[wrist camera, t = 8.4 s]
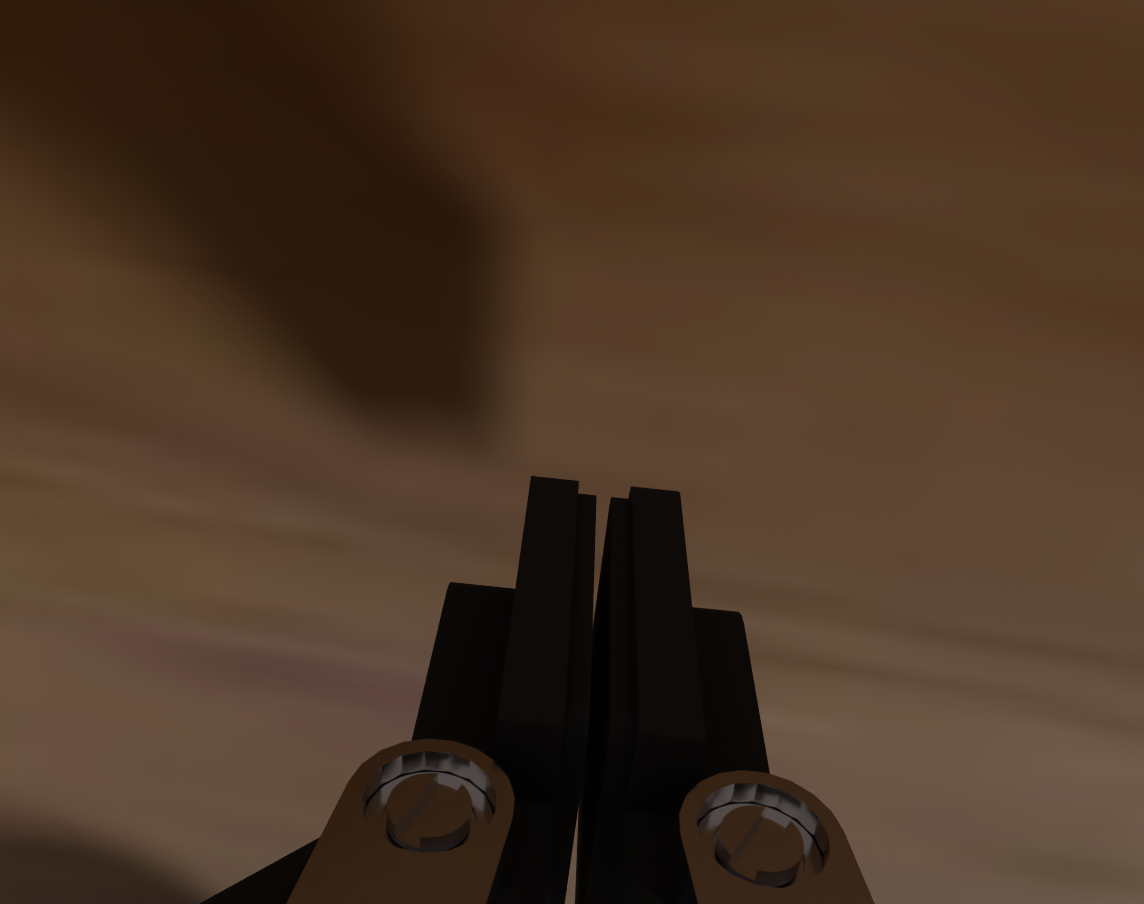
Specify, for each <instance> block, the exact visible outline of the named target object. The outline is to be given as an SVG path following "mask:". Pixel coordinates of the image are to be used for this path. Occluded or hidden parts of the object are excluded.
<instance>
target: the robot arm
mask: <svg viewBox="0 0 1144 904" xmlns="http://www.w3.org/2000/svg"><path fill="white" fill-rule="evenodd" d="M578 486H579V481H574V480H565V479H555V478H546V477H536V476H531V481H530V488H529V495H528V502H527V509H526V517H525V524H524V531H523V538H522V545H521V552H520V559H519V567H518V574H517V581H516V588H515V589H512V588H503V587H493V586H483V585H474V584H464V583H454V582H450V584H449V586H448V589H447V593H446V597H445V601H444V605H443V609H442V614H441V618H440V622H439V626H438V631H437V635H436V639H435V643H434V648H433V652H432V656H431V660H430V665H429V669H428V673H427V677H426V682H425V686H424V690H423V694H422V699H421V703H420V707H419V711H418V716H417V720H416V724H415V728H414V733H413V737H412V741H406V742H402V743H399V744H397V745H394V746H391V747H389V748H386V749H383V750H381V751H379V752H378V753H376V754H375V755H374V756H372V757H371V758H369V759H368V760H366V761H365V762H364V763H362V764H361V766H360V767H359V768H358V769H357V771H356V772H355V773H354V775H353V776H352V777H351V779H350V780H349V781H348V783H347V785H346V787H345V789H344V791H343V793H342V795H341V797H340V799H339V801H338V803H337V805H336V807H335V809H334V811H333V813H332V815H331V817H330V819H329V821H328V823H327V825H326V827H325V829H324V831H323V833H322V835H321V837H319V838H318V839H316V840H314V841H312V842H310V843H309V844H307V845H305V846H303V847H301V848H300V849H298V850H296V851H294V852H292V853H290V854H289V855H287V856H285V857H283V858H281V859H280V860H278V861H276V862H274V863H272V864H271V865H269V866H267V867H265V868H263V869H261V870H260V871H258V872H256V873H254V874H252V875H251V876H249V877H247V878H245V879H243V880H242V881H240V882H238V883H236V884H234V885H232V886H231V887H229V888H227V889H225V890H223V891H222V892H220V893H218V894H216V895H214V896H212V897H211V898H209V899H207V900H205V901H203V902H202V903H200V904H565V897H566V890H567V883H568V876H569V869H570V862H571V855H572V848H573V841H574V834H575V827H576V820H577V813H578V806H579V813H578V839H577V864H576V890H575V904H874V902H873V899H872V897H871V894H870V892H869V890H868V887H867V885H866V883H865V880H864V878H863V876H862V873H861V871H860V868H859V866H858V864H857V861H856V859H855V857H854V854H853V852H852V849H851V847H850V845H849V842H848V840H847V838H846V835H845V833H844V831H843V829H842V827H841V826H840V824H839V823H838V821H837V819H836V818H835V816H834V815H833V813H832V811H831V810H830V809H829V808H828V807H826V806H825V805H824V804H823V803H822V802H821V801H820V800H819V799H818V798H817V797H816V796H815V795H814V794H812V793H811V792H809V791H807V790H805V789H804V788H802V787H800V786H799V785H797V784H795V783H794V782H792V781H790V780H787V779H784V778H781V777H777V776H774V775H771V774H770V772H769V766H768V760H767V755H766V749H765V743H764V737H763V731H762V726H761V720H760V714H759V708H758V702H757V697H756V691H755V685H754V679H753V673H752V668H751V662H750V656H749V650H748V644H747V639H746V633H745V627H744V622H743V619H742V615H741V614H740V613H739V612H734V611H724V610H715V609H705V608H695V607H692V601H691V592H690V582H689V573H688V563H687V554H686V544H685V535H684V525H683V516H682V506H681V497H680V492H678V491H669V490H660V489H650V488H641V487H631V489H630V493H629V498H628V499H625V498H615V497H611V500H610V506H609V513H608V520H607V528H606V535H605V542H604V549H603V557H602V564H601V571H600V579H599V586H598V593H597V601H596V608H595V615H594V623H593V594H594V560H595V527H596V495H587V494H578ZM592 627H593V630H592Z"/></svg>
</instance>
